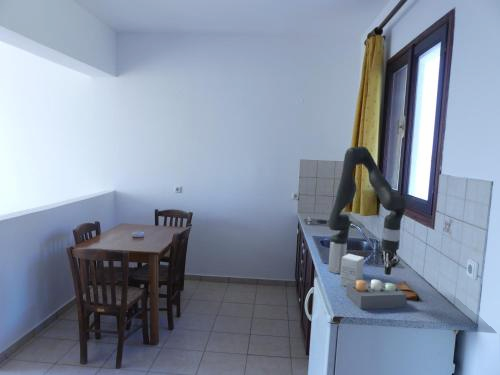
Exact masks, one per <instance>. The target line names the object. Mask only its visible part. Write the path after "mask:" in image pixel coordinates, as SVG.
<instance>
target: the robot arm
mask: <svg viewBox="0 0 500 375" xmlns="http://www.w3.org/2000/svg"><path fill="white" fill-rule="evenodd" d="M361 165H363V167H365V168H366V170H367V172H368V181H369V184H370V185H371V187H372V189H373V190H374V191H375V193H376V194H377V196H378V199H379V201H380V204H381V206H382V208H384V209H385V210H386V211H388V212H389V214H387V215H386V216H385V217H384V221H383V230H382V236H381V246H380V247H381V248H382V250H381V251H380V250H379V256H380V259H381V263H382V264H383V266H384V274H385V275H386V276H390V275H391V273H392V268H396V266H397V264H399V262H400V261H401V260H400V258H398V257H397V255H398V252H397V251H398V250H399V249H400V240H401V239H400V238H401V223H402V219H403V217H404V214H405V211H406V209H407V208H406V207H407V202H406V198H405V197H404V196H403V195H400V194H393V195H392V194H391V192H392V190H393V187H392V186H391V184H390V182H388V180H387V179H386V178H385V177H384V175H383V174H382V172H381V170H380V169H379V167H378V165H377V163H376V161H375V159H374V157H373V156H372V153H371V152H370V151H369V149H368V148H367V147H366V146H353V147H349V148H348V149H346V151H345V153H344V158H343V165H342V166H343V167H342V172H341V175H340V179H339V180H340V182H339V184H338V187H337V192H336V196H335V200H334V204H333V207H332V210H331V212H330V215H329V218H328V227H329V229H330V231H339V232H338V233H336V234H332V235H331V236H330V243H329V244H330V245H329V255H328V256H329V257H328V268H327V270H328V271H329V272H330V273H333V274H338V275H339V274H341V261H342V257H343V256H345V255H347V250H348V249H347V248H348V246H347V245H348V240H349V231H350V224H351V223H350V222H351V220H350V216H349V215H348V214H342V211H343V210H344V209H345V208H346V207H347V206H348V205H350V203H352V202H353V200H354V198H355V195H356V192H357V183H356V180H355V177H354V171H355V167H356V166H361Z"/></svg>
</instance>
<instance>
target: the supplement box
mask: <svg viewBox="0 0 500 375" xmlns="http://www.w3.org/2000/svg"><path fill="white" fill-rule="evenodd" d="M364 264H365V257H364V256H360V255H356V254H352V253H346V255H345V256H343V257H342V261H341V274H340V275H339V276H340V277H339V285H340V286H342V287H346V288H347V284H355V283H356V281H357V280H363V278H364Z"/></svg>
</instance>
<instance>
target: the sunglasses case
mask: <svg viewBox="0 0 500 375" xmlns="http://www.w3.org/2000/svg"><path fill="white" fill-rule="evenodd" d="M394 284H395V285H396V288H398V289H399V290H401V291H402V292H403V293H405V294H406V301H412V302H419V301H420V296H419V294H418V293H416V291H415V290H414V289H413V288H412V287H411V286H410V285H409V284H408V283H407V282H406V281H405V280H403V281H402V282H398V283H394Z"/></svg>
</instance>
